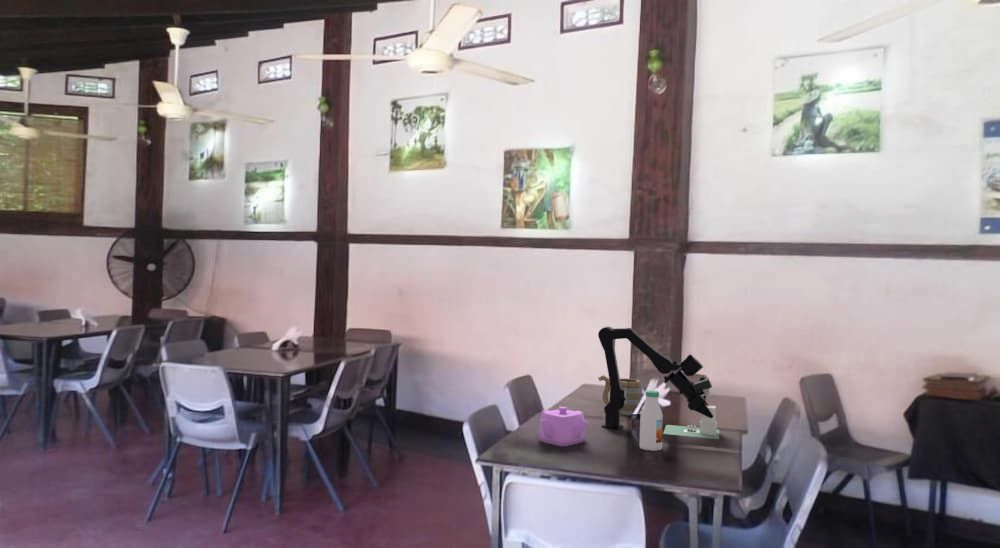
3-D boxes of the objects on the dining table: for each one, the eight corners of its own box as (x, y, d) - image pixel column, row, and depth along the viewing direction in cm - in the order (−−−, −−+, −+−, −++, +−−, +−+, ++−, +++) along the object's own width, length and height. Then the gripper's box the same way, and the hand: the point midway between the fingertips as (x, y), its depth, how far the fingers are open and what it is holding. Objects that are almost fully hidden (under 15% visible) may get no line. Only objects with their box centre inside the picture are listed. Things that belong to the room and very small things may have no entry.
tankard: (646, 411, 304) (647, 377, 303) (635, 416, 293) (636, 381, 293) (604, 405, 314) (605, 372, 314) (592, 410, 304) (593, 376, 303)
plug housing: (699, 433, 260) (700, 407, 260) (700, 431, 264) (700, 404, 264) (716, 435, 258) (717, 408, 258) (716, 432, 263) (717, 406, 262)
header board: (662, 436, 259) (663, 427, 259) (666, 427, 274) (666, 418, 274) (719, 442, 252) (719, 432, 252) (719, 432, 268) (719, 423, 268)
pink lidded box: (582, 436, 257) (583, 403, 257) (588, 448, 240) (589, 412, 240) (536, 435, 257) (537, 402, 256) (539, 447, 240) (540, 411, 239)
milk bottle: (649, 452, 236) (650, 393, 236) (634, 446, 243) (636, 390, 243) (666, 450, 240) (668, 392, 240) (652, 444, 247) (653, 388, 246)
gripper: (698, 374, 253) (729, 407, 250) (700, 367, 271) (728, 398, 268) (675, 394, 256) (705, 426, 253) (678, 386, 274) (706, 416, 270)
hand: (712, 416), depth 261 cm, fingers closed on plug housing, 5 cm apart
